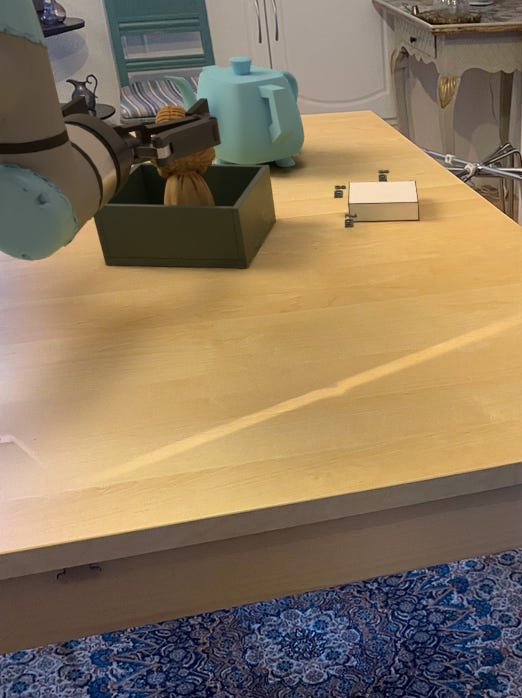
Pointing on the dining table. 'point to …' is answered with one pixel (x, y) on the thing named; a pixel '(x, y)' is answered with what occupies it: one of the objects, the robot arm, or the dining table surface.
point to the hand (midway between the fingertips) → (145, 110)
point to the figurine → (185, 170)
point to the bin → (188, 220)
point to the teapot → (250, 111)
